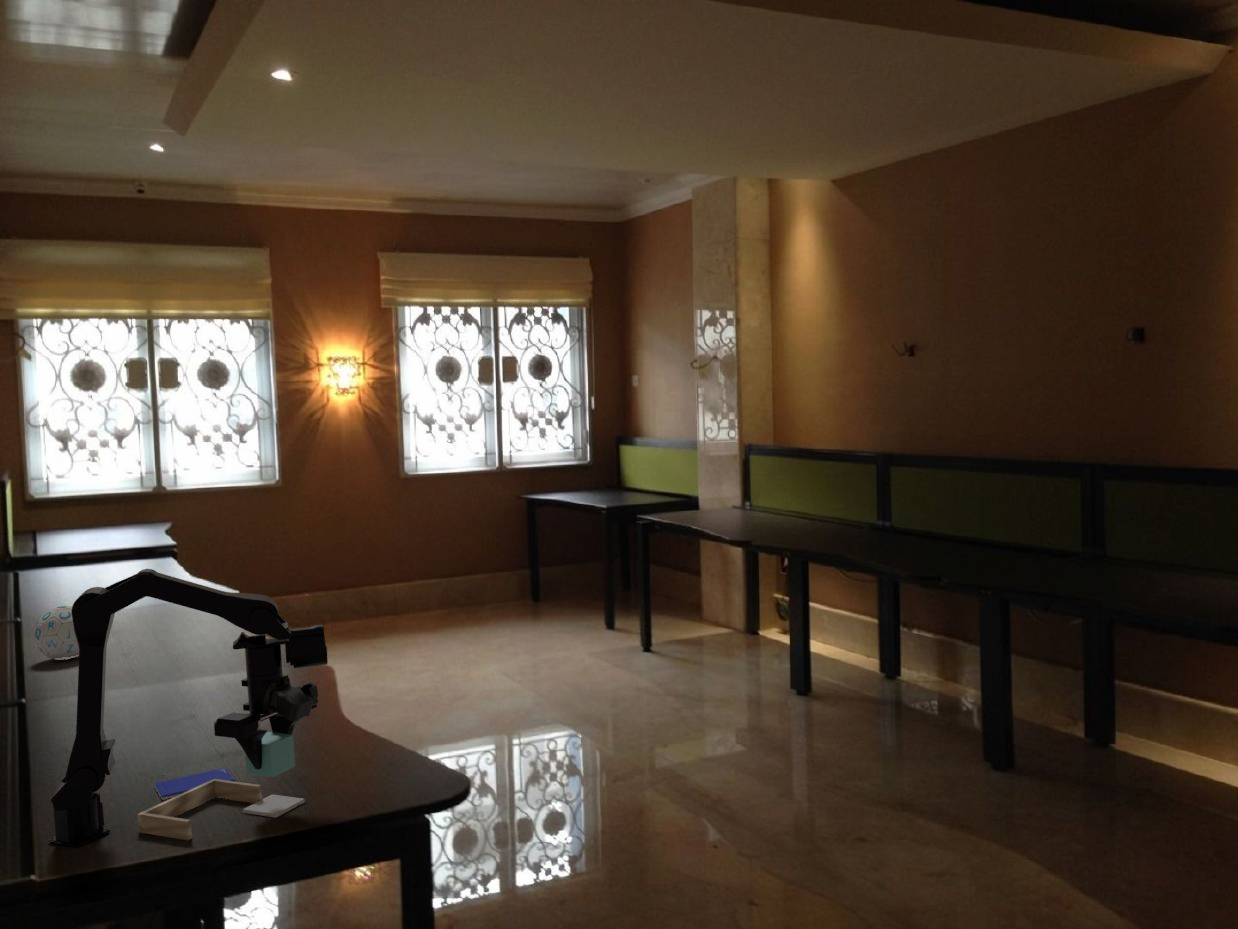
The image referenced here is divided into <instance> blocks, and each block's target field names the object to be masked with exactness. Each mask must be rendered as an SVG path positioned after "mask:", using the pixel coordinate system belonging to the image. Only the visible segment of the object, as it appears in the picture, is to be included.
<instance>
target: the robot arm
mask: <svg viewBox="0 0 1238 929" xmlns="http://www.w3.org/2000/svg"><path fill="white" fill-rule="evenodd" d="M146 597H148V598H153V599H156V600H159V601H162V602H168V603H171V604H175V605H178V606H181V607H185V608H189V609H193V610H197V611H199V612H203V613H206V614H210V615H213V616H217V617H219V618H222V619H223V620H225V621H227V622H229V623H230V624H232V625H234V626H235V627H238V628H240V629H242V630H244V631H241V633H240V634H239V635H238V637H237V639H235V640H234V641H233V643H232V649H233V650H243V649H244V653H245V654H244V656H245V671H246V672H245V673H246V678H244V679H242V680H241V681H240V682H241V687H247V700H248V702H246V703H243V704H242V708H243V710H242V711H246V712H249V713H243V712H241V713H240V712H231V713H228V714H225V715H223V716H220V717H217V719H216V720H215V721H214V723H213V728H214V736H215V737H223V738H230V739H235V740H236V741H237V743H238V745H239V746H240V747H241V748H242V750H243V752H244V754H245V753H246V755H247V756H248V758H249V760H250V761H251V763H252V765H253V766H254V768H255V769H261V767H262V738H263V736H264V735H265V734H266V732H268V730H267V729H262V725H261V722H264V721H265V720H269V723H270V728H271V731H272V732H273V733H282V734H291V735H293V732H294V729H295V726H296V724H297V723H298V722H299V721H300V720H302V718H305V717H306V718H307V717H309V716H310V715H311V712H312V710H313V709H315V708H317V707H318V703H319V700H318V697H319V692H318V687H317V686H318V685H317V684H315V683H313V682H308V683H305V684H303V685H302V686H299V685H298V686H296V687H295V686H292V685H291V680H290V677H289V675H288V674H283V660H282V645H284V651H285V663H286V664H289V665H290V666H293V667H292V668H293V669H302V668H303V669H304V668H309V667H311V668H312V667H317V666H318V667H319V666H327V665H328V664H329V663H328V647H327V643H326V638H325V637H326V636H325V627H324V625H323V624H314V625H312V626H306V627H296V628H291V626H290V624H289V623H288V622H287V621H286V620H285V619H284V618H283V617H282V616H281V615H280V614H279V606H278V605H277V603H276V601H275V600H274V599H273V598H272V597H270V596H269V595H265V594H259V593H257V594H256V593H248V592H230V591H224V590H221V589H217V588H213V587H210V586H207V585H203V584H199V583H196V582H192V581H189V580H184V579H182V578H178V577H175V576H171V575H168V574H164V573H160V572H158V571H157V570H155V569H153V568H144V569H141V570H140V571H138V572H137V573H136V574H133V575H131V576H129V577H126V578H124V579H121V580H118V581H117V582H115V583H113V584H111V585H108V586H105V587H101V586H94V587H90V588H87V589H85V591H83V592H82V593H81V595H79V596H78V597H77V598H76V599H75V600H74V603H73V604H72V619H73V625H74V632H75V635H76V639H77V642H78V646H79V657H78V672H77V674H78V675H77V702H76V703H77V704H76V725H75V726H76V727H75V737H74V742H73V746H72V749H71V752H70V755H69V760H68V762H67V769H66V772H65V776H64V777H63V778H62V779H61V780H60V782H59V784H58V786H56V787H57V788H56V790H55V791H54V792H53V795H52V797H51V800H50V802H51V804H52V808H53V809H52V810H53V820H54V832H55V834H54V836H52V837H50V838H48V841H49V840H50V841H54V842H59V843H61V844H60V845H62V844H65V845H64V846H67V845H70V846H69V847H73V846H78V847H80V846H83V845H85V844H87V843H89V842H91V841H93V840H95V839H97V838H100V837H102V836H104V835H107V834H108V833H110V832H111V828H109V827H104V826H105V817H104V804H103V801H102V800H101V794H100V793H97V791H99V789H101V788H102V787H103V785H104V783H105V781H106V780H107V776H110V775H111V773H112V771H113V768H114V765H115V764H116V760H115V757H114V748H115V743H116V739H115V738H112V739H107V737H106V735H105V730H104V726H105V725H104V722H105V721H104V719H105V697H106V696H105V695H106V693H105V692H106V673H107V672H106V670H107V669H106V668H107V667H106V666H107V649H108V648H107V645H108V641H109V638H110V634H111V630H112V626H113V623H114V619H115V614H116V613H117V612H119V611H121V610H124V609H125V608H126V607H129V606H130V605H132V604H134V603H136V602H138V601H140V600H142V599H144V598H146ZM245 631H246V632H249V633H250V634H252V635H251V636H250V635H248V634H246V633H245ZM253 634H254V635H253ZM266 635H267V636H270V637H272V638H267V636H266ZM246 755H245V756H246ZM86 842H87V843H86Z"/></svg>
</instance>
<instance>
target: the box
mask: <svg viewBox="0 0 1238 929" xmlns="http://www.w3.org/2000/svg"><path fill="white" fill-rule="evenodd" d="M215 797H217V798H215ZM213 798H214V799H221V798H223V799H222V800H228V799H229V801H237V802H243V803H249V804H254V803H256V802H258V801H260V800H262V799H263V789H262V784H257V783H256V784H255V783H250V782H249V783H248V782H241V781H240V782H239V781H235V782H234V781H227V780H219V779H213V780H211V781H208V782H206V783H204V784H202V785H200V786H197V787H195V788H193V789H191V790H189V791H187V792H184V793H182V794H180V795H178V796H176V797H173V798H171V799H167V800H164V801H162V802H161V803H158V804H157V805H154V806H152V807H150V808H147V809H145V810H143V811H141V812H139V813H137V814H136V815H137V826H138V833H141V834H148V835H155V836H159V837H165V838H170V839H171V838H172V839H177V840H184V841H190V840H192V839H193V834H192V832H193V830H192V820H191V819H187V818H180V817H178V816H180V815H183V814H184V812H185V813H187V812H188V810H189V811H190V809H191V810H193V809H194V808H196V807H199V806H201V805H203V804H206V803H207V801H208V802H210V801H212V800H214V799H213ZM224 798H225V799H224ZM211 799H212V800H211ZM209 800H210V801H209ZM205 802H206V803H205ZM186 811H187V812H186ZM175 816H176V817H175Z"/></svg>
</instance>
